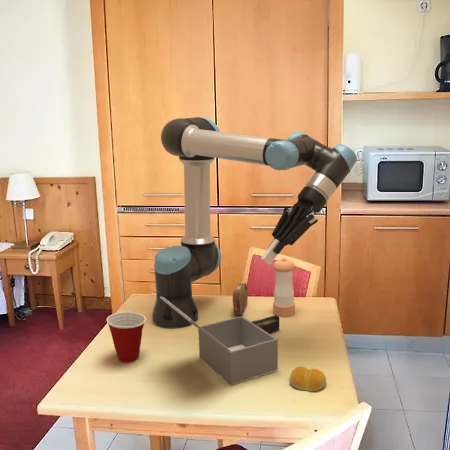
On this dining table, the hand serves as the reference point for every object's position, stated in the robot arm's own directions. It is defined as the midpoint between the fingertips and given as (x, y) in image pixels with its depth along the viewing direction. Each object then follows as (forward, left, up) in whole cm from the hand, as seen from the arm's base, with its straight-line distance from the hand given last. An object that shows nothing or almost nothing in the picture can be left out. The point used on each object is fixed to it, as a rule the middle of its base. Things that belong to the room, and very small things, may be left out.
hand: (265, 261), depth 138 cm
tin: (-32, +11, -28) cm, 44 cm away
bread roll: (+18, 0, -28) cm, 33 cm away
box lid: (0, -22, -12) cm, 25 cm away
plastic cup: (-19, -33, -28) cm, 47 cm away
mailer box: (0, -9, -27) cm, 29 cm away
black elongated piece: (-12, +6, -28) cm, 31 cm away
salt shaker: (-22, +22, -28) cm, 41 cm away
